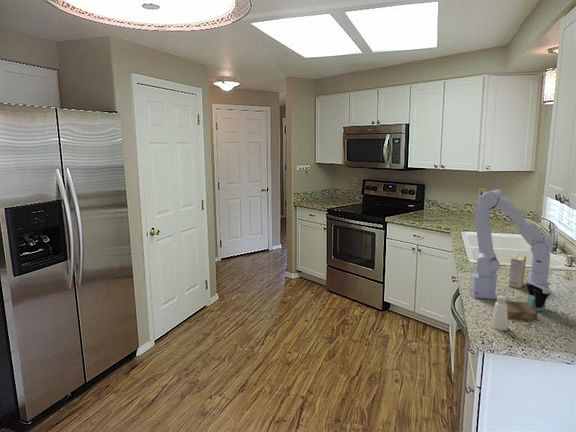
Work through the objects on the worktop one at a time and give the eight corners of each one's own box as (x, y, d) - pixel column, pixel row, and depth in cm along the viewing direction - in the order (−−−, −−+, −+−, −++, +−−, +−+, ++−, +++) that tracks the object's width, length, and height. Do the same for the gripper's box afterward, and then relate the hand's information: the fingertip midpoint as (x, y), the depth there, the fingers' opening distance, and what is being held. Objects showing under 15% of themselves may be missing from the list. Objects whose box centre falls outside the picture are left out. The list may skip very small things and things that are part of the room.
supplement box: (512, 281, 184) (514, 254, 181) (524, 283, 181) (526, 255, 178) (508, 286, 177) (510, 258, 175) (520, 289, 174) (523, 260, 172)
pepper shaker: (491, 328, 138) (493, 298, 136) (489, 322, 143) (491, 293, 141) (508, 331, 136) (511, 300, 134) (506, 324, 141) (509, 294, 139)
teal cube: (531, 310, 152) (532, 299, 152) (527, 305, 157) (528, 294, 156) (544, 311, 152) (546, 299, 151) (539, 306, 156) (540, 295, 155)
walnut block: (506, 317, 146) (507, 311, 146) (497, 307, 156) (498, 300, 155) (536, 319, 144) (537, 313, 144) (525, 308, 154) (526, 302, 153)
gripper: (560, 277, 144) (556, 313, 146) (542, 265, 158) (539, 298, 160) (539, 276, 145) (535, 311, 147) (523, 264, 159) (520, 297, 161)
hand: (536, 304), depth 154 cm, fingers closed on teal cube, 4 cm apart
